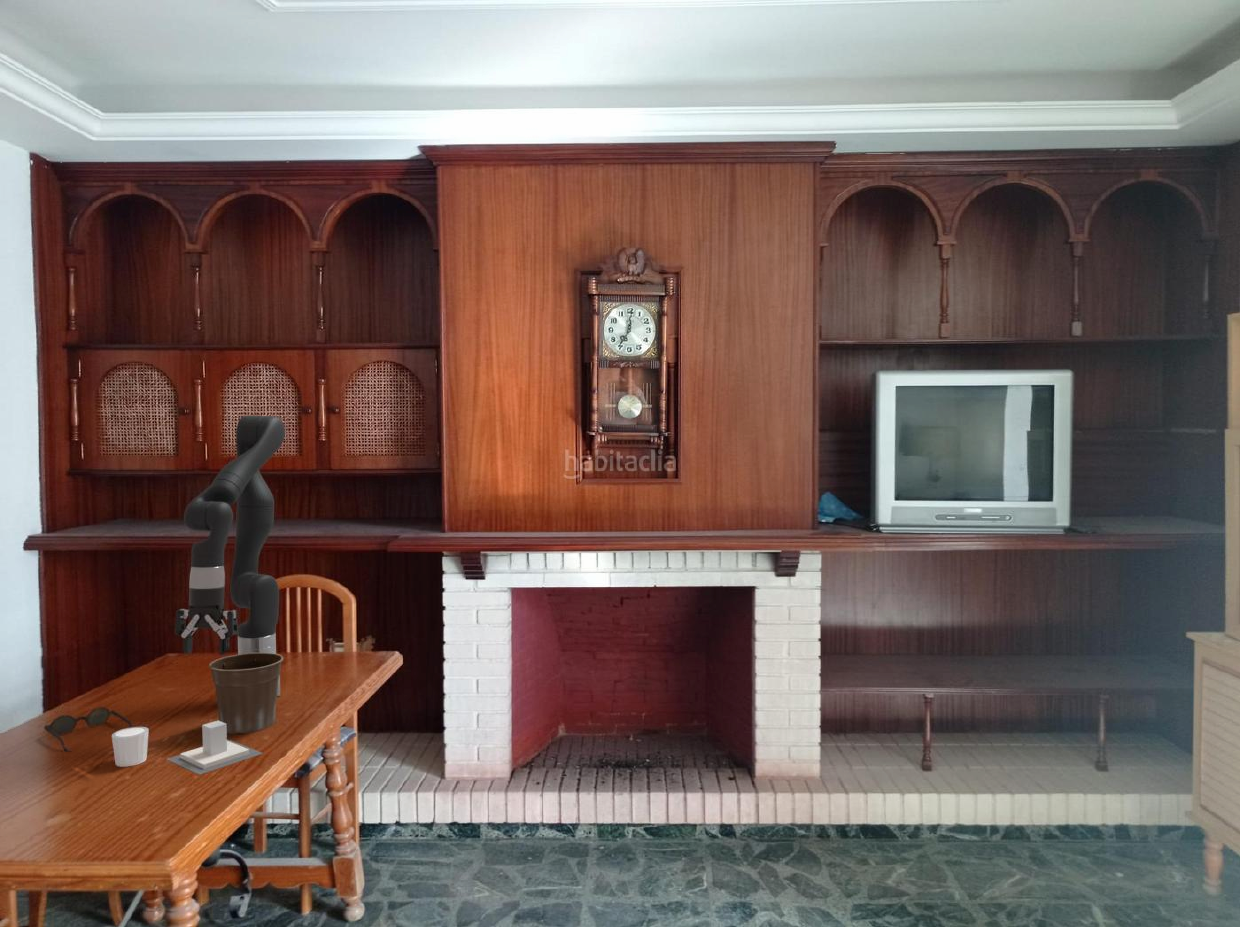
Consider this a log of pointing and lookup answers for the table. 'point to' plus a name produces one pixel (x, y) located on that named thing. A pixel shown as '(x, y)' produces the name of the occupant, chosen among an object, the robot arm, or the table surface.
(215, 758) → the lid
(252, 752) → the mat
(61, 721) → the eyeglasses
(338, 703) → the table surface
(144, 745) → the shot glass
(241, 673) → the plant pot
